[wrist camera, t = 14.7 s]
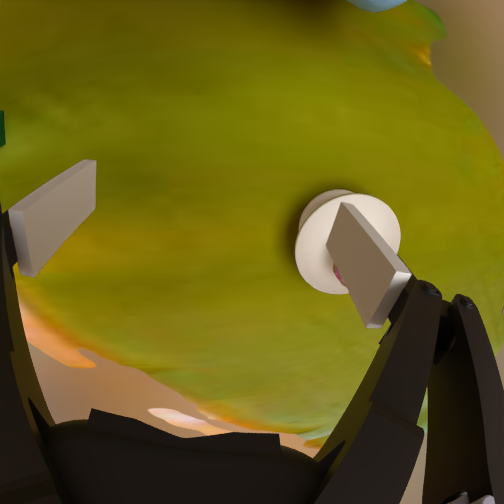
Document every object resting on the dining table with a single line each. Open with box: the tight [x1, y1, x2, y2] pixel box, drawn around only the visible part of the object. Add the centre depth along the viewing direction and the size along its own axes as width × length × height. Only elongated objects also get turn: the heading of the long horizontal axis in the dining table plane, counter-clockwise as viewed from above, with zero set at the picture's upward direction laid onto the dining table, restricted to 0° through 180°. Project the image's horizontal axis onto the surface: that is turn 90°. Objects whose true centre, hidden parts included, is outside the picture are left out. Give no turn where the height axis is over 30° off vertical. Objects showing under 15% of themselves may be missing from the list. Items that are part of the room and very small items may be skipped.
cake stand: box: [295, 189, 400, 294], centre depth 49 cm, size 18×18×8 cm
